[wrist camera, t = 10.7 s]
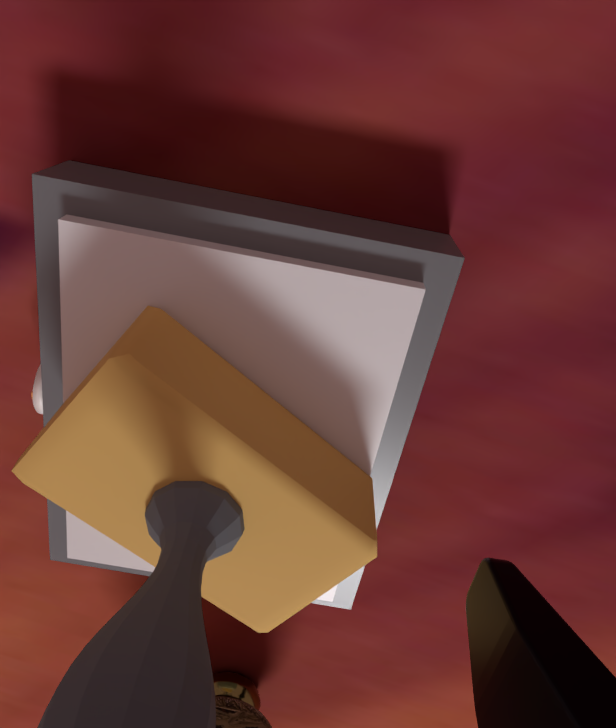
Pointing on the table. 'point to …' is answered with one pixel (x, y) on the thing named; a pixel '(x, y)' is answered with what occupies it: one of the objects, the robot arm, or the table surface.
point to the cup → (237, 702)
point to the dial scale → (240, 312)
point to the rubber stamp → (191, 518)
